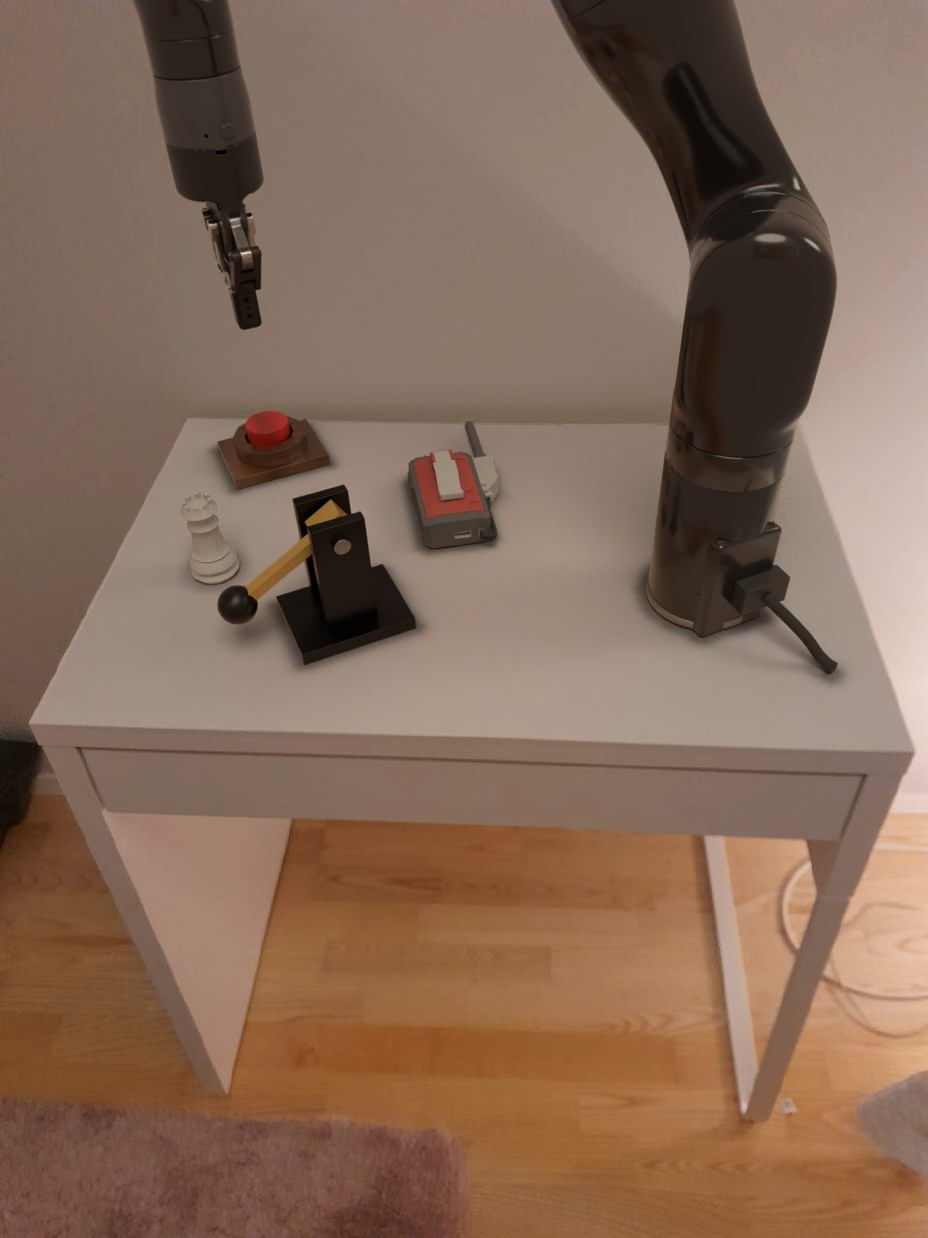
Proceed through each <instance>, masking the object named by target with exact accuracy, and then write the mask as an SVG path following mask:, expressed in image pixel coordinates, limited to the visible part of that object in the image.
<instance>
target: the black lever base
mask: <svg viewBox="0 0 928 1238" xmlns="http://www.w3.org/2000/svg"><path fill="white" fill-rule="evenodd" d="M291 500H292V505H293V511H294V515H295V521H296V526H297V530H298V535H299V541H300V540H301V539H302V538H303V537H305V536H306V535H307V534H308V536H309V541H310V546H311V552H312V554H311V555H310V556H309V557H308V558H307V559H305V560H304V561H303V562H304V566H305V572H306V576H307V581H308V586H305V587H301V588H298V589H295V590H292V591H288V592H285V593H282V594H279V595H276V596H275V599H276V603H277V607H278V609H279V612H280V614H281V616H282V618H283V620H284V623H285V625H286V627H287V630H288V632H289V634H290V637H291V638H292V640H293V643H294V645H295V647H296V650H297V652H298V654H299V657H300V659H301V661H302V662H303V665H304V666H306V665H308V664H311V663H314V662H318V661H321V660H324V659H327V658H329V657H333V656H336V655H339V654H342V653H345V652H349V651H351V650H354V649H357V648H361V647H364V646H366V645H369V644H372V643H375V642H378V641H382V640H386V639H388V638H390V637H393V636H396V635H400V634H403V633H405V632H409V631H413V630H415V629H417V623H416V617H415V616H414V614H413V612H412V611H411V609H410V607H409V605H408V604H407V602H406V600H405V599H404V597H403V596H402V594H401V592H400V590H399V589H398V587H397V585H396V584H395V582H394V581H393V579H392V577H391V575H390V574H389V572H388V569H386V567H385V565H384V564H383V563H380V564H376V565H374V566H372V562H371V556H370V555H371V554H370V546H369V539H368V533H367V532H368V531H367V524H366V517H365V516H364V514H363V513H362V511H361V510H359V511H355V512H352V509H351V500H350V494H349V490H348V488H347V486H346V485H345V484H341V485H338V486H337V485H336V486H333V487H330V488H329V487H328V488H325V489H322V490H319V491H314V492H311V493H308V494H307V493H306V494H305V495H301V496H300V495H299V496H297V497H293V498H292V499H291ZM330 500H332V501H333V502H334V503H335V504H337V505H338V506H339V507H340V508H341V509H342V510H343V511H344V512H345V513H346V514H347V515H345V516H342V517H338V518H335V519H331V520H328V521H324V522H321V523H317V524H314V525H311V526H307V525H306V523H305V521H306V520H307V519H308V518H310V517H311V516H312V515H313V514H314V513H315V512H317V511H318V510H319V509H320V508H321V507H323V506H324V505H325V504H326V503H327V502H328V501H330Z"/></svg>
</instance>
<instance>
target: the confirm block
mask: <svg viewBox="0 0 928 1238" xmlns="http://www.w3.org/2000/svg"><path fill="white" fill-rule="evenodd" d="M286 416H287V418H288V423H289V428H290V433H291V434H290V438H289V439H288V440H286V441H285V442H283V443H282V444H279V445H275V446H271V447H256V446H254V445H252V444H251V443H250V442H249V440H248V436H247V431H246V427H245V423H246V422H244V423H243V424H240V425H239V426H238V427H237V428H236V430H235V432H234V434H233V436H232V437H229V438H225V439H221V440H218V441H216V443H217V448H218V451H219V453H220V456H221V458H222V460H223V462H224V464H225V466H226V468H227V470H228V474H229V475H230V477H231V479H232V482H233V484H234V486H235V488H236V490H241V489H244V488H248V487H252V486H255V485H258V484H259V485H260V484H262V483H266V482H270V481H274V480H277V479H281V478H285V477H288V476H292V475H296V474H299V473H303V472H306V471H310V470H311V471H312V470H314V469H319V468H322V467H326V466H329V465H331V462H330V457H329V456H330V455H329V454H328V452H327V450H326V449H325V447H324V445H323V443H322V442H321V440H320V439H319V437H318V436H317V434H316V432H315V430H314V429H313V427H312V426H311V423H310V422H309V420H308V419H307V418H304V419H300V420H299V419H296V418H294V417H291V416H289V415H286Z"/></svg>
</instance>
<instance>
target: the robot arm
mask: <svg viewBox="0 0 928 1238" xmlns="http://www.w3.org/2000/svg"><path fill="white" fill-rule="evenodd" d="M549 2H550V4H551V6H552V8H553V10H554V12H555V14H556V16H557V19H558V20H559V21H560V24H561V26H562V28H563V30H564V32H565V34H566V36H567V37H568V40H569V41H570V43H571V45H572V47H573V48H574V50H575V51H576V53H577V55H578V57H579V58H580V59H581V62H582V63H583V64H584V66H585V67H586V68H587V70H588V71H589V73H590V74H591V76H592V78H594V80H595V82H596V83H597V84H598V85H599V87H600V88H601V89H602V90H603V92H604V93H605V94H606V96H607V97H608V99H610V101H611V102H612V104H614V106H615V107H616V108H617V110H619V111H620V113H621V114H622V115H623V117H624V118H625V119H626V121H627V122H628V123H629V124H630V125H631V126H632V128H633V129H634V130H635V131H636V132H637V134H638V135H639V136H640V138H641V140H642V141H643V143H644V144H645V146H646V148H647V149H648V151H649V153H650V154H651V157H652V158H653V160H654V163H656V166H657V168H658V171H659V172H660V175H661V177H662V179H663V183H664V185H665V187H666V189H667V192H668V194H669V196H670V201H671V202H672V205H673V208H674V210H675V213H676V215H677V216H676V217H677V218H678V221H679V222H678V223H679V224H680V227H681V230H682V234H683V237H684V241H685V243H686V248H687V251H688V258H689V270H688V271H689V273H688V282H687V283H688V284H687V292H686V299H685V308H684V313H683V314H684V315H683V321H682V322H683V323H682V330H681V338H680V346H679V354H678V360H677V369H676V375H675V382H674V387H673V390H672V398H671V406H670V414H669V421H668V428H667V436H666V445H665V452H664V458H663V466H662V474H661V479H660V486H659V487H660V488H659V496H658V503H657V509H656V519H655V526H654V532H653V540H652V547H651V557H650V565H649V573H648V575H647V578H646V585H645V586H646V588H645V593H646V597H647V599H648V602H649V604H650V605H651V607H652V608H653V609H654V610H655V611H656V613H658V614H659V615H660V616H662V618H664V619H666V620H668V621H669V622H671V623H673V624H675V625H678V626H681V627H684V628H687V629H691V630H693V631H694V632H695V633H696V634H697V635H698V636H699V637H706V636H709V635H711V634H714V633H717V632H720V631H723V630H726V629H729V628H732V627H735V626H737V625H740V624H741V623H745V622H747V621H751V620H753V619H756V618H759V617H760V616H761V615H762V613H763V609H764V608H768V609H769V610H770V611H771V612H773V613H774V615H776V616H777V618H779V619H780V620H781V621H782V622H783V623H784V624H785V625H786V626H787V627H788V628H789V629H790V630H791V632H793V634H794V635H795V636H796V637H797V638H798V639H799V640H800V642H802V644H803V645H804V646H805V648H806V650H807V651H808V652H809V654H810V655H811V656H812V658H813V660H815V662H816V663H817V664H819V666H820V667H821V668H823V670H824V671H827V672H829V673H833V672H835V670H836V669H837V667H838V662H837V661H835V660H833V659H832V658H831V657H829V655H828V654H826V652H825V651H824V650H823V648H822V647H821V646H820V644H819V642H818V641H817V640H816V639H815V637H814V636H813V634H812V633H811V632H810V631H809V629H807V628H806V626H805V625H804V624H803V623H802V622H801V621H800V620H799V619H798V618H797V617H796V616H795V615H794V614H793V613H792V612H791V610H789V609H788V608H787V607H785V605H784V604H783V603H781V602H783V601H785V598H786V595H787V592H788V588H789V585H790V580H791V576H790V575H789V574H788V573H787V572H785V570H784V569H782V568H781V567H780V566H779V565H778V564H775V560H776V555H777V552H778V548H779V543H780V540H781V537H782V532H783V528H782V526H780V525H779V523H777V522H776V521H775V520H776V515H777V511H778V507H779V503H780V499H781V495H782V491H783V487H784V483H785V478H786V474H787V470H788V466H789V462H790V458H791V454H792V450H793V446H794V442H795V437H796V434H797V430H798V426H799V423H800V419H801V418H802V416H803V415H804V413H805V412H806V410H807V408H808V406H809V403H810V400H811V398H812V394H813V390H814V386H815V383H816V379H817V376H818V373H819V368H820V364H821V361H822V357H823V354H824V349H825V346H826V343H827V339H828V334H829V331H830V328H831V324H832V319H833V314H834V310H835V305H836V299H837V290H838V274H837V267H836V261H835V256H834V255H835V254H834V249H833V246H832V244H833V243H832V240H831V235H830V232H829V229H828V224H827V222H826V220H825V218H824V216H823V214H822V212H821V211H820V209H819V207H818V205H817V203H816V201H815V200H814V198H813V196H812V195H811V193H810V191H809V189H808V187H807V186H806V184H805V182H804V180H803V179H802V177H801V174H800V173H799V171H798V169H797V167H796V166H795V164H794V162H793V161H792V158H791V156H790V155H789V153H788V150H787V148H786V147H785V144H784V142H783V141H782V139H781V137H780V135H779V133H778V131H777V129H776V127H775V124H774V123H773V121H772V119H771V116H770V114H769V112H768V109H767V108H766V106H765V104H764V101H763V98H762V96H761V93H760V90H759V87H758V85H757V82H756V78H755V75H754V72H753V68H752V64H751V60H750V57H749V51H748V47H747V44H746V43H747V42H746V40H745V35H744V31H743V28H742V24H741V19H740V15H739V12H738V9H737V5H736V2H735V0H549ZM131 3H132V4H133V8H134V10H135V12H136V15H137V18H138V20H139V24H140V28H141V33H142V38H143V42H144V46H145V50H146V54H147V58H148V63H149V67H150V71H151V73H152V81H153V88H154V97H155V105H156V110H157V114H158V119H159V123H160V127H161V131H162V135H163V136H162V137H163V140H164V143H165V148H166V152H167V156H168V161H169V166H170V168H171V173H172V177H173V181H174V185H175V190H176V191H177V193H178V194H179V195H180V196H181V198H184V199H186V200H188V201H190V202H191V201H192V202H196V203H205V206H206V207H203V208H201V210H200V216H201V220H202V225H203V227H204V228H205V230H206V231H207V234H208V239H209V243H210V245H211V246H210V247H211V251H212V254H213V258H214V259H215V260H216V262H217V268H218V270H219V271H220V273H221V274H223V275H222V276H223V277H222V279H223V283H224V284H225V285H226V288H227V290H228V291H229V297H230V301H231V305H232V306H231V307H232V310H233V314H234V319H235V322H236V324H237V326H238V328H239V329H240V330H241V331H246V330H251V329H255V328H259V327H260V326H261V325H262V323H263V321H262V316H261V311H260V306H259V301H258V296H257V291H259V290H262V256H263V254H262V250H261V249H260V248H259V245H256V241H255V235H256V233H257V229H256V224H255V217H254V215H253V213H252V211H248V210H247V206H246V203H245V202H244V199H246V198H247V196H249V195H250V194H252V195H253V194H254V193H256V192H258V191H259V190H260V188H261V187H262V186H263V184H264V180H265V179H264V172H263V165H262V162H261V160H262V159H261V155H260V150H259V149H260V148H259V144H258V143H259V142H258V138H257V132H256V126H255V121H254V120H255V119H254V115H253V110H252V109H253V108H252V104H251V103H252V102H251V98H250V94H249V90H248V87H247V83H246V80H245V77H244V73H243V69H242V65H241V60H240V54H239V48H238V44H237V39H236V32H235V26H234V20H233V15H232V10H231V5H230V1H229V0H131Z"/></svg>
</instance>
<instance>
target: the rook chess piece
mask: <svg viewBox="0 0 928 1238" xmlns="http://www.w3.org/2000/svg"><path fill="white" fill-rule="evenodd" d="M193 494H194V497H192V496H191V495H190V494H187V495H186V496H184V500H181V508H180V511H179V514H180V516H181V518H182V519H184V520H186V521H187V523H186V528H187V530H188V531H189V532H190V534H191V540H192V549H191V554H190V555H189V567H190V573H191V575H192V577H193V578H194V579H195V580H197V581H199V582H200V583H203V584H208V585H216V584H217V585H218V584H221V583H224V582H227V581H229V580H230V579H231V578H233V577H234V576H235V574H236V572H238V570H239V568H240V559H239V558H238V557H237V555H238V554H237V551H236V550H235V549H234V547H233V546H232V545H231V544H230V543H228V541H227V540H225V538H224V537H223V535H222V532H221V530H220V527H219V523H220V519H219V517H218V516H217V515H216V513H217V511H218V508H219V505H218V503H217V502H216V501H215V500H214V499H212V497H211V496H210V494H209V493H207V492H204V493H203V494H202V493H201V491H197V492H194V493H193Z"/></svg>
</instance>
